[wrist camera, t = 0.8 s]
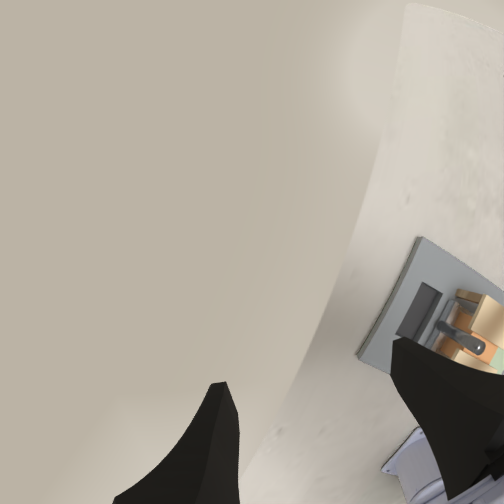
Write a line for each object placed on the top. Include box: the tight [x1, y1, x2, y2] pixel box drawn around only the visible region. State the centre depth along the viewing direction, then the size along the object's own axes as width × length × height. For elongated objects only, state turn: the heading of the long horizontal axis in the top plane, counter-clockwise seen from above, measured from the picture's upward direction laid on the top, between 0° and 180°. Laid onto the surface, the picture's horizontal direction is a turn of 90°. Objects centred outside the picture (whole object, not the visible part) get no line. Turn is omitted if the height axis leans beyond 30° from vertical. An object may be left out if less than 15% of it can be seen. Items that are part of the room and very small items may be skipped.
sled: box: [425, 299, 486, 359], centre depth 20 cm, size 8×6×9 cm
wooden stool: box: [451, 289, 504, 374], centre depth 22 cm, size 6×9×6 cm
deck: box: [357, 237, 504, 375], centre depth 25 cm, size 20×14×2 cm
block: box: [440, 312, 498, 365], centre depth 22 cm, size 4×4×4 cm
